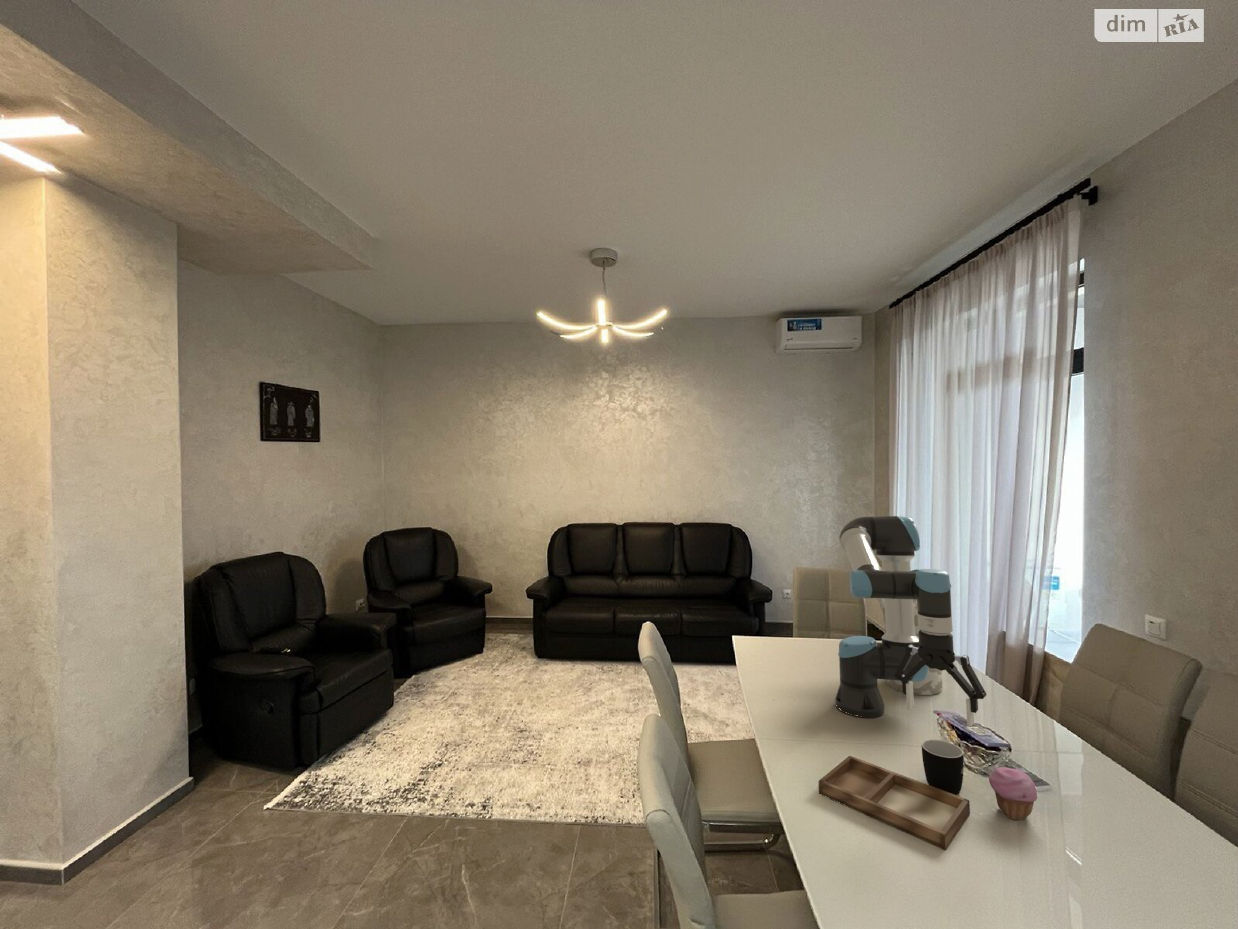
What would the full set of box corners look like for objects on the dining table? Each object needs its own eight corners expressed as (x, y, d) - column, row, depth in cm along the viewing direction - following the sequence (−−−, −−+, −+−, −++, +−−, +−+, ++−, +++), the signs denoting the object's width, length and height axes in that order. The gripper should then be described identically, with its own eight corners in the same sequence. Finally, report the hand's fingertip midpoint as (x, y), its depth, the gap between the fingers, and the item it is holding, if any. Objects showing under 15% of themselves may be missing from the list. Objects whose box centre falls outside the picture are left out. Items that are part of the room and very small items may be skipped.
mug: (969, 803, 126) (967, 760, 126) (927, 796, 129) (925, 754, 129) (957, 776, 137) (955, 736, 137) (918, 770, 140) (916, 732, 141)
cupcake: (982, 803, 126) (980, 760, 126) (1019, 802, 125) (1017, 760, 126) (1008, 827, 117) (1006, 781, 117) (1048, 827, 117) (1046, 781, 117)
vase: (935, 679, 201) (931, 578, 203) (948, 698, 184) (943, 588, 185) (877, 674, 208) (873, 577, 209) (884, 692, 190) (879, 586, 192)
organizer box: (819, 794, 131) (818, 781, 131) (849, 767, 143) (849, 755, 143) (945, 850, 110) (944, 834, 110) (969, 814, 122) (969, 800, 122)
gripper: (878, 625, 141) (882, 706, 140) (989, 645, 122) (994, 737, 122) (889, 620, 146) (893, 697, 145) (997, 638, 127) (1002, 727, 127)
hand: (939, 716), depth 133 cm, fingers open, 13 cm apart
